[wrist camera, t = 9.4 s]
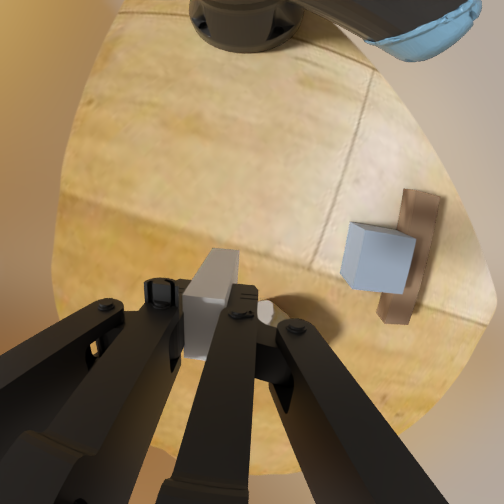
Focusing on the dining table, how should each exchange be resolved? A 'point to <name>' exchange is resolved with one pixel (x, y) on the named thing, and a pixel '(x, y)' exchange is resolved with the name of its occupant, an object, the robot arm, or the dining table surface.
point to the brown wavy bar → (421, 228)
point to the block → (377, 258)
